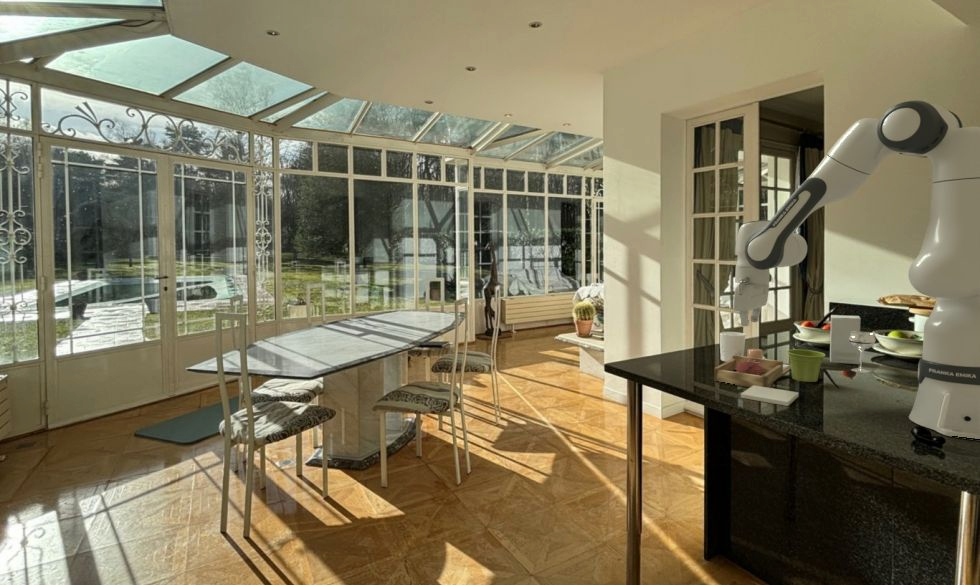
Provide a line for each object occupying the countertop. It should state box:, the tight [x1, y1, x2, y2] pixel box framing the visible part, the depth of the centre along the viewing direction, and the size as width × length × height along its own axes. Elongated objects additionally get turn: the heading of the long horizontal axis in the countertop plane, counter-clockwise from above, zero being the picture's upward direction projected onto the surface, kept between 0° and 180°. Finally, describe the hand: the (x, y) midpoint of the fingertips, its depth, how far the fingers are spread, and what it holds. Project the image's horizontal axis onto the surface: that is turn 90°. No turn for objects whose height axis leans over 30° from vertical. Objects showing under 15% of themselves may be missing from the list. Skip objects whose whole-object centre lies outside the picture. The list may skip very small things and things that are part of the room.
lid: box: [783, 362, 791, 375], centre depth 166 cm, size 14×16×1 cm
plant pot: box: [786, 349, 826, 383], centre depth 149 cm, size 9×9×9 cm
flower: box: [735, 359, 764, 376], centre depth 153 cm, size 8×8×6 cm
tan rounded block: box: [746, 348, 764, 359], centre depth 167 cm, size 4×4×5 cm
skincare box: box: [829, 314, 862, 365], centre depth 174 cm, size 8×7×16 cm
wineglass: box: [849, 330, 876, 374], centre depth 162 cm, size 7×7×12 cm
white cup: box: [719, 331, 746, 363], centre depth 174 cm, size 8×8×10 cm
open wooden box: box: [713, 355, 784, 388], centre depth 153 cm, size 14×17×5 cm
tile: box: [740, 385, 800, 407], centre depth 136 cm, size 11×11×1 cm
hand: (749, 323), depth 152 cm, fingers open, 8 cm apart
